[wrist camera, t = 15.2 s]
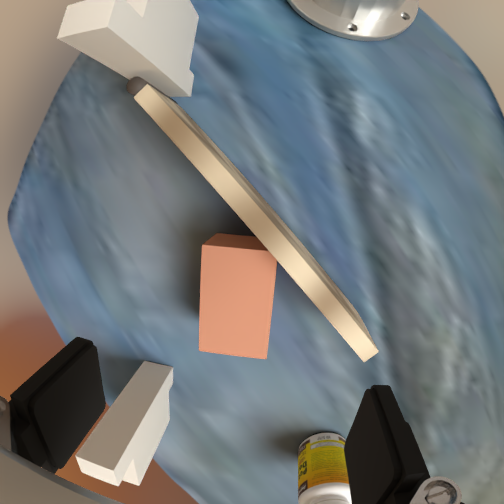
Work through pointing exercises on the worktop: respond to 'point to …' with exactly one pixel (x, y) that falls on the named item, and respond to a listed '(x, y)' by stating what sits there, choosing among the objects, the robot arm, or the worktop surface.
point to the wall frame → (173, 85)
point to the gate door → (255, 214)
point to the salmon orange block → (236, 296)
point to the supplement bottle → (323, 470)
